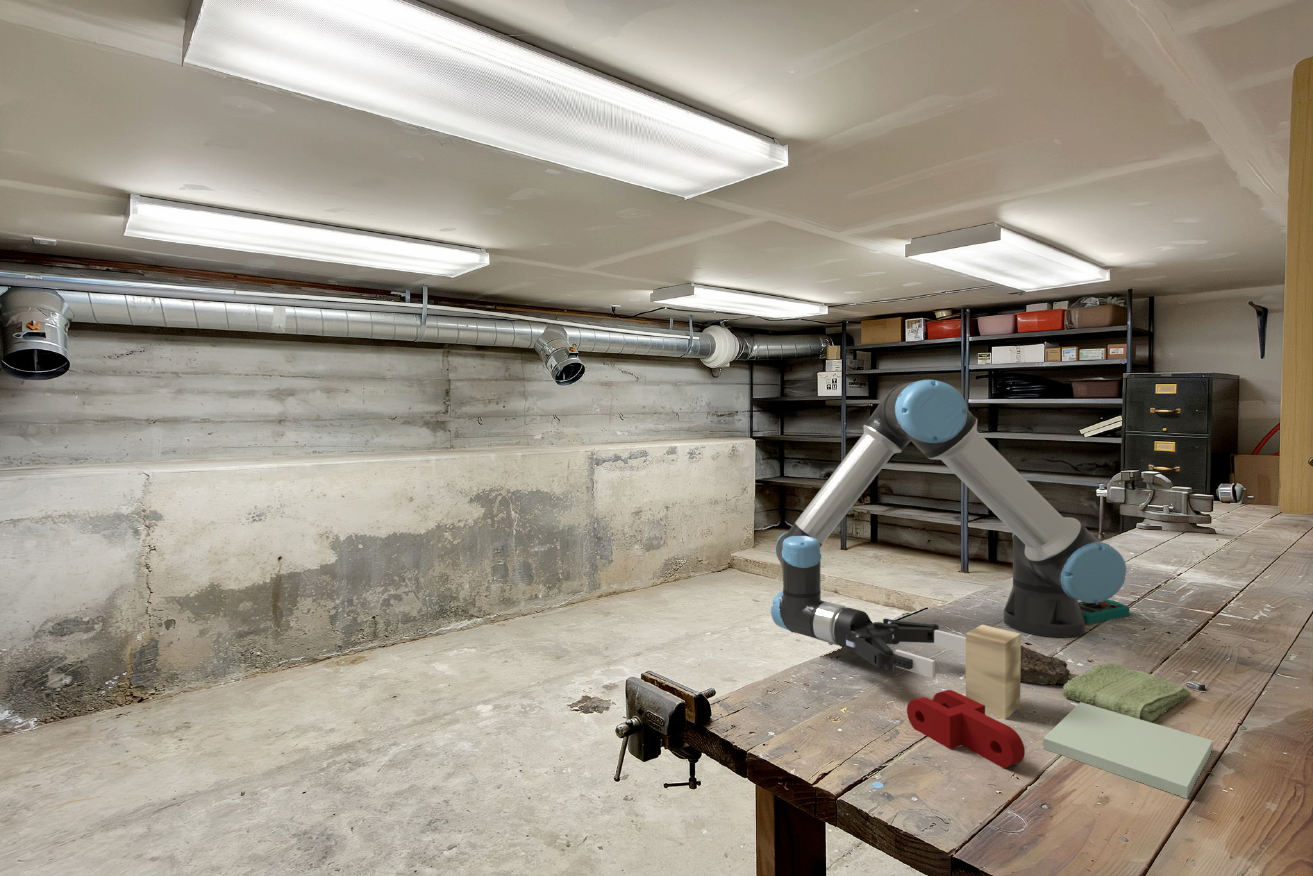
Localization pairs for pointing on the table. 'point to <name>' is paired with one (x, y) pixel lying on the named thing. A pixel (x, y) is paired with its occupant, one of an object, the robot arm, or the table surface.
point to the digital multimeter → (1103, 611)
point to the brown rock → (1042, 668)
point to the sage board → (1131, 748)
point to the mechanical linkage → (965, 727)
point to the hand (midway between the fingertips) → (953, 657)
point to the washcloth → (1125, 691)
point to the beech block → (994, 669)
